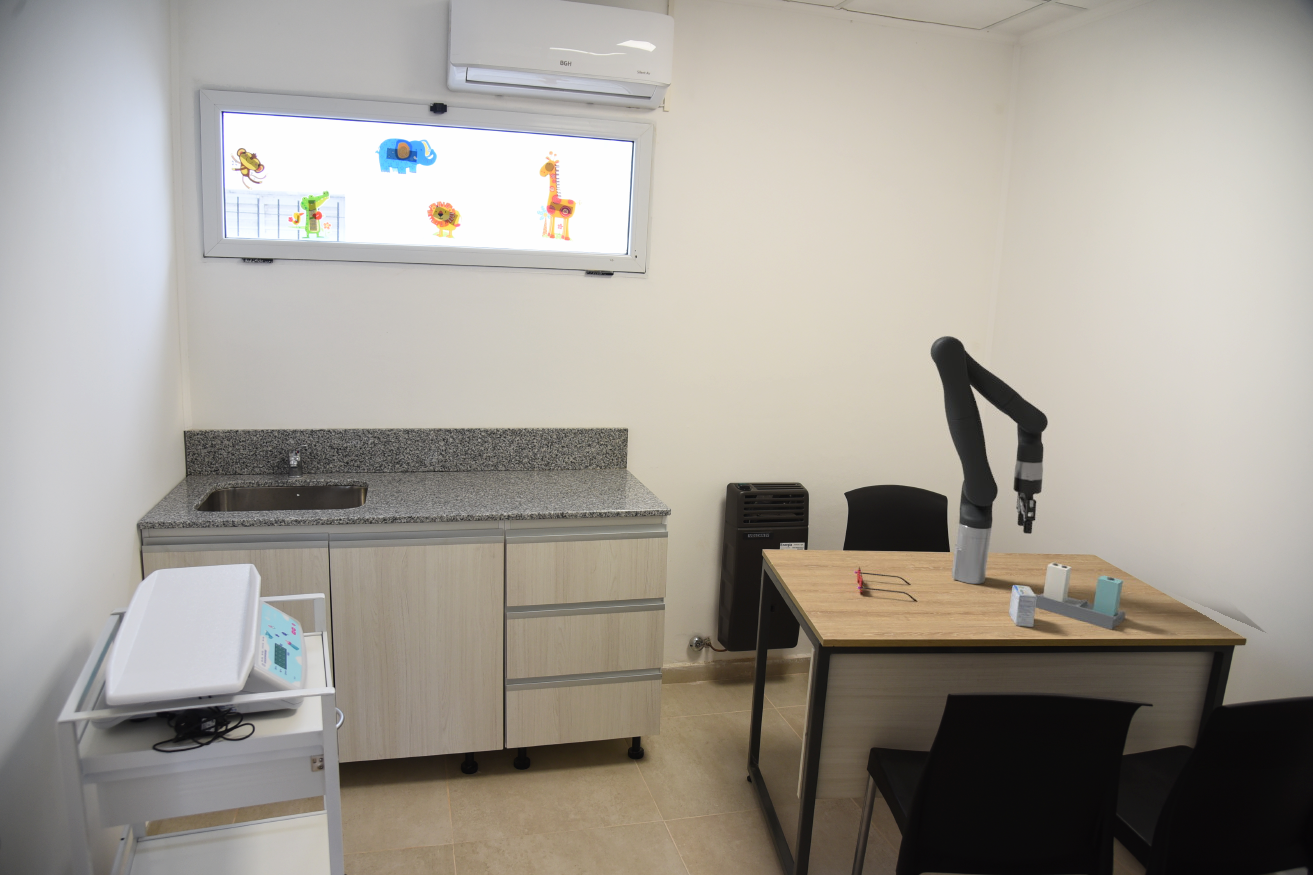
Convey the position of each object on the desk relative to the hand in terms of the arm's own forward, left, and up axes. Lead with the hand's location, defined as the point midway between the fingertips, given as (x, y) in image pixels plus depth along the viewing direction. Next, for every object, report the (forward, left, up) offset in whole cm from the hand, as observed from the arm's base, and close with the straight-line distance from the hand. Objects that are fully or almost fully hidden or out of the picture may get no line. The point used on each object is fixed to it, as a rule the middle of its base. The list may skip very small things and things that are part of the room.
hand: (1024, 529), depth 237 cm
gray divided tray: (+13, -17, -18) cm, 28 cm away
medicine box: (-4, -30, -18) cm, 35 cm away
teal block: (+19, -20, -16) cm, 32 cm away
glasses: (-39, -20, -18) cm, 47 cm away
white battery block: (+8, -14, -16) cm, 22 cm away
